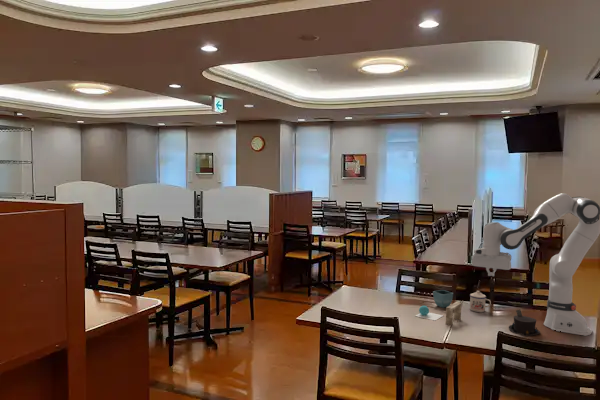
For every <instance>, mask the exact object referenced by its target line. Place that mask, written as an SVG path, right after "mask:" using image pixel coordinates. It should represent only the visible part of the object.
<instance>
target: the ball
mask: <svg viewBox="0 0 600 400" xmlns="http://www.w3.org/2000/svg"><path fill="white" fill-rule="evenodd" d="M418 312H419V313H420V314H421V315H427V314H428V313H429V312H430V309H429V307H428V306H427V305H421V306H419V309H418Z"/></svg>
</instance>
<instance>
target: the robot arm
mask: <svg viewBox="0 0 600 400" xmlns="http://www.w3.org/2000/svg"><path fill="white" fill-rule="evenodd" d="M566 214H567V215H568V214H570V215H573V216H575V217H576V218H578V223H577V226H576V227H575V228H574V229H573V231H572V232H571V234H570V235H569V236H568V237H567V238H566V240H565V242H564V244H563V245H562V247H561V249H560V251H559V253H556V254H555V255H553V256H551V258H550V260H549V269H548V271H549V274H548V275H549V277H548V281H549V285H548V286H549V289H548V299H547V301H546V309H547V310H546V316H545V319H544V322H543V325H544V326H545V327H547V328H549V329H551V330H552V331H554V330H556V331H555V332H560V331H561V333H565V334H566V333H567V334H573V335H581V336H585V337H586V336H590V335H591V334H592V333H593V330H592V328H590V327H589V326H588V322H587V319H586V318H585V317H584V316H583V315H582V314H581V313H580V312H578V311H577V309H576V308H577V304H576V303H573V289H574V288H573V287H574V286H573V276H574V275H575V273H576V272H577V269H578V268H579V266H580V264H582V261H583V260H584V257H585V256H586V255H587V253H588V251H589V250H590V248H591V247H592V246H593V245H594V243H595V242H596V240H597V239H598V237H599V235H600V205H599V204H598V203H597V202H596V201H594V200H592V199H590V198H587V197H583V196H573V197H572V196H571V195H569V194H568V193H566V192H563V193H561V192H560V193H558V194H556V195H554V196H552V197H550V198H548V199H547V200H545V201H544V202H542V203H540V204H539V206H538V207H537V208H535V209H534V212H533V214H532V216H531V217H530V219H528V220H527V221H526V222H524V223H523V224H522V225H520V226H519V227H517V228H515V229H513V228H510V227H508V226H507V227H506V226H505V225H503V224H501V223H500V222H498V221H492V222H487V223H485V225H484V227H483V234H482V237H483V238H482V239H483V244H482V247H479V248H476V249H474V251H473V253H474V254H473V255H472V258H471V259H472V260H471V263H472V266H473V267H478V268H485V270H486V273H487V276H488V277H495V272H496V271H497V270H504V271H509V270H511V268H512V255H511V254H510V252H503V251H501V246H502V247H504V248H505V249H506V250H516V249H518V248H519V247H520V246H521V244H522V243H523V241H524V240H525V239H526V238H527V237H529V236H531V235H532V234H534V233H535V232H536V231H538V230H540V229H542V228H543V227H546V226H547V225H550V224H552V223H553V222H556V221H558V220H559V219H560V218H562V217H563V216H564V215H566ZM490 269H492V272H491V271H490Z"/></svg>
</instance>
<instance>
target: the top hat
mask: <svg viewBox="0 0 600 400" xmlns="http://www.w3.org/2000/svg"><path fill="white" fill-rule="evenodd" d="M515 312H516V315H514V316H513V322H512V324H510V325H509V326H508V330H509V331H510V332H512V333H513V334H514V335H515V334H516V335H518V336H520V335H522V336H524V337H531V336H537V335H539V334H541V331H540V330H538V327H536V323H537V319H536V318H533V317H530V316H525V315H523V313H522V311H521V309H517V310H515Z"/></svg>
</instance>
